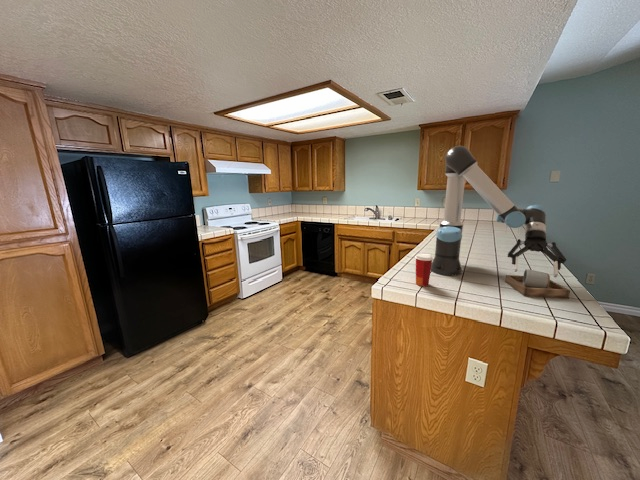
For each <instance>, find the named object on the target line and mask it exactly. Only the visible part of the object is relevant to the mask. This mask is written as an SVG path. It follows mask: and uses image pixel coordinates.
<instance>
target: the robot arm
mask: <svg viewBox="0 0 640 480" xmlns="http://www.w3.org/2000/svg"><path fill="white" fill-rule="evenodd" d="M444 162H445V168H444V169H445V170H444V171H445V172H444V175H445V176H446V177H447V181H446V190H445V191H446V192H445V199H444V200H445V201H444V208H443V209H444V211H443V220H442V221H441V222H440V223H439V228H437V231H436V237H435V238H436V240H435V250H434V251H435V252H434V256H433V260H432V265H431V271H430V272H433V273H435V274H437V275H443V276H451V277H452V276H453V277H454V276H460V275H461V274H462V271H463V270H462V269H463V268H462V265H461V261H460V254H461V243H462V238H463V228H464V223H463V222H462V221H461V219H462V211H463V210H462V209H463V200H464V194H465V193H464V191H465V184H466V183H465V182H466V181H467V183H468V184H470V186H471V187H472V188H473V189H474V190H475V192H477V194H478V195H479V196H480V197H481V198H482V199H483V201H485V202H486V203H487V204H488V205H489V207H490V208H491V209H492V210H493V211H494V212H495V213H496V218H495V219H496V220H495V221H496V222H497V223H502V224H506V226H507V227H509V228H513V229H518V228H521V227H522V226H524V225H525V230H524V231H525V236H524V237H525V238H524V239H525V240H521V239H517V241H516V244H515V245H514V246H512V248H511V249H510V250H509V251H508V254H507V257H508V258H511V265H514V272H515V273H517V272H518V267H519V257H520V256H522V255H523V254H524V253H525V252H527V251H530V252H537V253H540V252H541V253H542V254H545V256H547V257H548V258H549V259H550V260H551V261H552V262H553V277H554V278H557V277H558V275H559V271H560V270H561V269H562V265H561V264H565V263H566V262H567V259H566V257H565V256H564V254H563V253H562V252H561V251H560V249H559V248H558V247H557V243H556V242H554V241H553V242H551V243H550V242H547V227H546V226H547V224H546V220H547V219H546V218H547V217H546V216H547V214H546V209H545V207H544V206H542V205H540V204H534V205H533V204H532V205H528V206H527V207H526V208H525V209H524V208H522V209H521V208H518V207H517V206H516V205H515V204H514V203H513V202H512V201H511V199H510V198H509V197H508V196H507V195H505V193H504V192H503V191H502V190H501V189H500V188H499V187H498V185H496V184H495V183H494V181H492V179H491V178H490V177H489V176H488V175H487V174H486V173H485V172H484V171H483V170H482V169H481V168H480V166H479V165H478V163H479V162H478V161H477V159H476V158H475V157H474V155H473V154H472V153H471V151H470V149H469V148H468V147H466V146H464V145H455V146H453V147H451V148H450V149H448V151H447V153H446V154H445V156H444ZM522 245H524V247H522V248H521V249H519V250H518V248H519V247H520V246H522ZM549 249H550V250H549ZM517 250H518V251H517ZM516 251H517V252H516Z"/></svg>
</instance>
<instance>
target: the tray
mask: <svg viewBox="0 0 640 480" xmlns="http://www.w3.org/2000/svg"><path fill="white" fill-rule="evenodd" d="M504 276H505V277H504V283H505V284H507V286H510V287H511V288H512V289H514V290H515V291H516V292H518V293H519V294H521V295H522V296H523V297H534V298H535V297H537V298H550V299H551V298H552V299H569V298H570V293H571V290H570V289H567V288H566V287H564V286H562V285H560V284H559V283H556V282H555V281H553V280H552V279H550V282H549V286H548V288H533V287H526V286H524V285H523V276H524V275H515V274H514V275H513V274H512V275H511V274H506V275H504Z"/></svg>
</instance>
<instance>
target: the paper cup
mask: <svg viewBox="0 0 640 480" xmlns="http://www.w3.org/2000/svg"><path fill="white" fill-rule="evenodd" d="M414 258H415V284H416V285H417V286H419V287H428V286H429V284H430V278H431V277H430V276H431V272H432V271H431V265H432V261H433V259H434V257H433V256H432V255H431V254H429V253H417V254H416V255H415V257H414Z"/></svg>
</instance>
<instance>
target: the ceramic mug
mask: <svg viewBox="0 0 640 480" xmlns="http://www.w3.org/2000/svg"><path fill="white" fill-rule="evenodd" d="M522 276H523V285H524V286H526V287H533V288H548V286H549V282H550V280H551V279H550V278H551V277H550V274H549V273H548V272H545V271H537V270H534V269H528V268H525V270H524V272H523V275H522Z"/></svg>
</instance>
